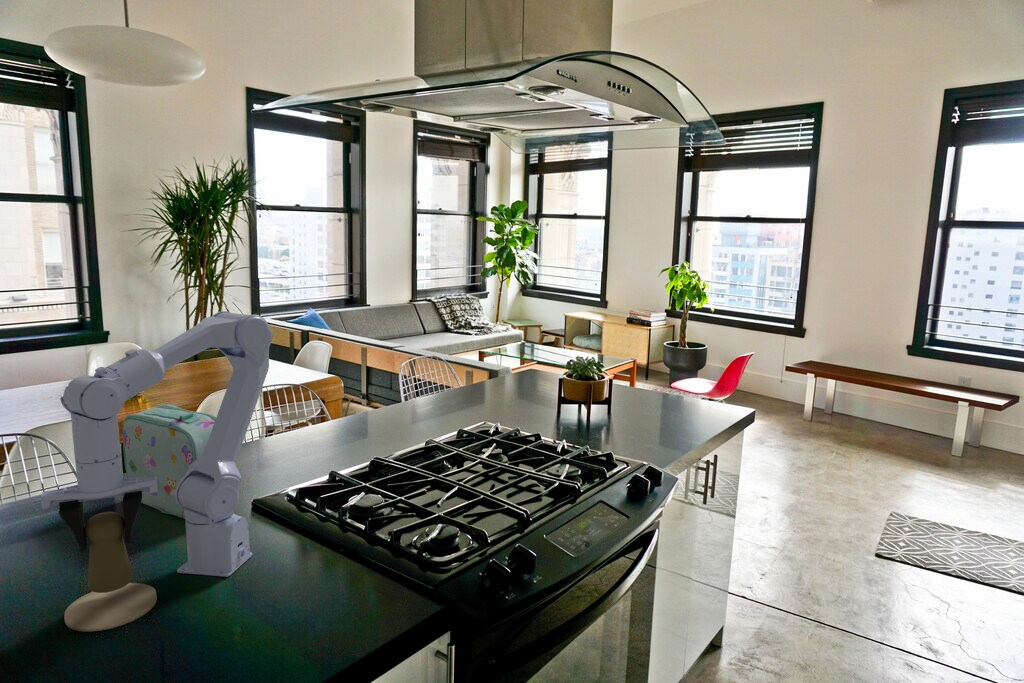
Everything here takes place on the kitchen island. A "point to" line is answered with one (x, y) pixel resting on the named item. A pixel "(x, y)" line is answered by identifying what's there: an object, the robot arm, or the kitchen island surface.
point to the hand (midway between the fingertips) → (106, 544)
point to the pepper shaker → (107, 553)
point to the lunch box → (164, 450)
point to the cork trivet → (110, 608)
